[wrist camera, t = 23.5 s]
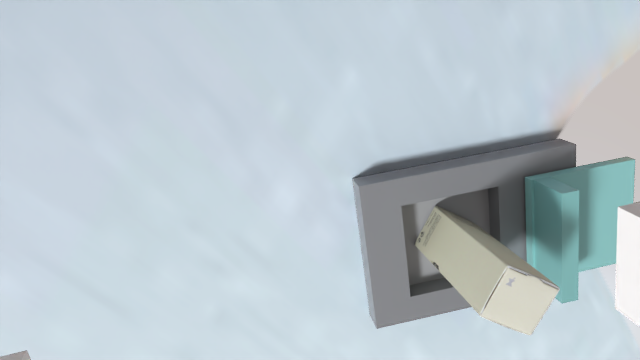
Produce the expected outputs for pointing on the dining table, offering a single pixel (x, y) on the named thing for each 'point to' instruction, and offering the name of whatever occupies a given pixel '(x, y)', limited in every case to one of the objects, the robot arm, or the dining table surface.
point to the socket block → (452, 195)
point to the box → (486, 272)
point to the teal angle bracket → (575, 220)
